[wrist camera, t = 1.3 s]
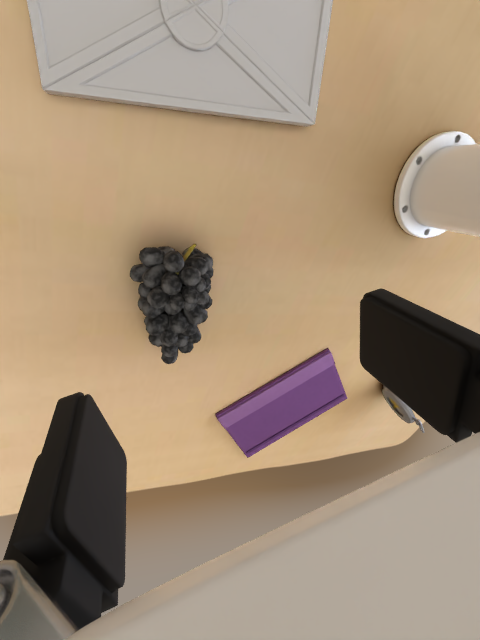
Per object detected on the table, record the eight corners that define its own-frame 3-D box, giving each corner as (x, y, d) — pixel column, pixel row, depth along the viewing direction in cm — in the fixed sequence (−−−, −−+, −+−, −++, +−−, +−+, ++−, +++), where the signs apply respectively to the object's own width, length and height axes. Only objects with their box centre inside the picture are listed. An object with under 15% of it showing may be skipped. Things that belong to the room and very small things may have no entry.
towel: (327, 347, 47) (330, 350, 46) (345, 396, 53) (348, 399, 52) (215, 413, 46) (216, 418, 45) (246, 455, 52) (248, 459, 52)
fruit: (194, 397, 32) (215, 258, 26) (116, 384, 32) (118, 240, 25) (205, 354, 40) (223, 240, 34) (143, 343, 40) (149, 226, 33)
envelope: (6, -162, 20) (49, 94, 26) (-9, -198, 18) (41, 88, 24) (331, -60, 26) (305, 126, 32) (345, -78, 24) (315, 124, 30)
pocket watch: (419, 368, 56) (470, 404, 47) (392, 403, 58) (436, 444, 49) (390, 356, 52) (440, 394, 43) (363, 395, 54) (405, 437, 46)
